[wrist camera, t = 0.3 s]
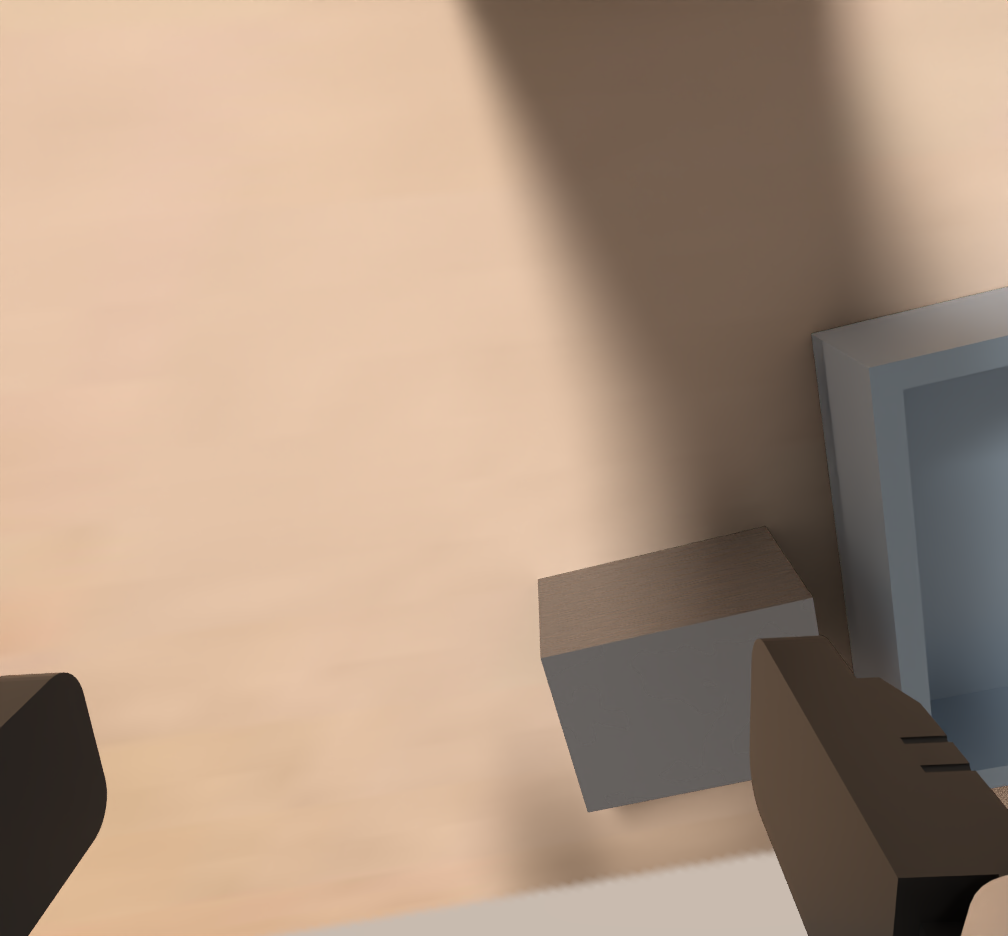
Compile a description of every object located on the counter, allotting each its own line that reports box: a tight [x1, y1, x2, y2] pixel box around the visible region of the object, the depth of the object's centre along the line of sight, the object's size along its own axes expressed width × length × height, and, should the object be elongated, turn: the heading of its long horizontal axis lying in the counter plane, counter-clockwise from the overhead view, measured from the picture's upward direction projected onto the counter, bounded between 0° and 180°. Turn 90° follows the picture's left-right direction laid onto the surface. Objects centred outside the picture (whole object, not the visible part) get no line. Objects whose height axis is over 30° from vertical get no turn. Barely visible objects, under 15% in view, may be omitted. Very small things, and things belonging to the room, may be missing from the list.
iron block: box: [538, 526, 819, 812], centre depth 27 cm, size 6×8×5 cm
